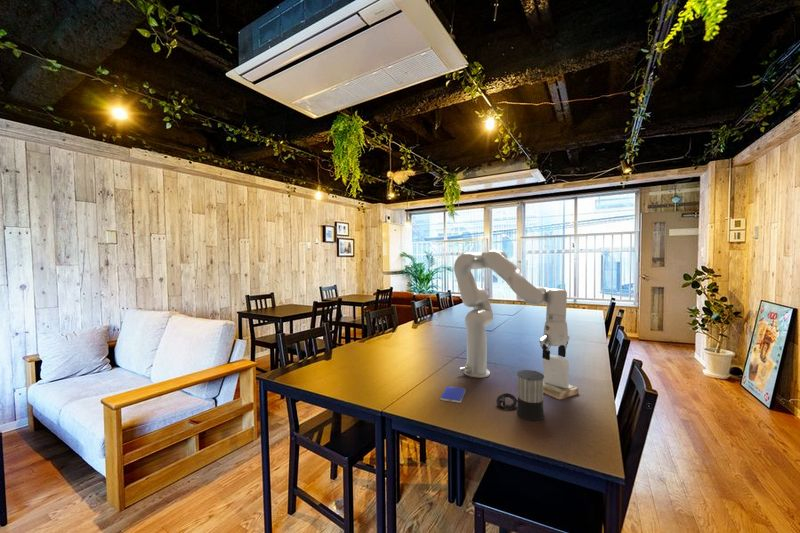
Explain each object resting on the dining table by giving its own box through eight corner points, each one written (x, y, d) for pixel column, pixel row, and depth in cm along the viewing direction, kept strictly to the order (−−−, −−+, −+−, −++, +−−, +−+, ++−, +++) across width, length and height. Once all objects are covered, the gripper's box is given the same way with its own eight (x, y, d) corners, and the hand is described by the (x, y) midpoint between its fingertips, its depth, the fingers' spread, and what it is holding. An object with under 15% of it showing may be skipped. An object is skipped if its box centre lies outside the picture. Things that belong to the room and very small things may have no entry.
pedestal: (558, 399, 127) (558, 392, 127) (534, 388, 138) (534, 382, 138) (578, 393, 133) (578, 387, 133) (553, 383, 143) (553, 377, 143)
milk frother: (547, 422, 110) (547, 379, 109) (499, 418, 113) (499, 376, 112) (537, 404, 124) (537, 366, 123) (495, 400, 127) (495, 363, 126)
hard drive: (446, 385, 139) (440, 397, 128) (465, 388, 137) (460, 400, 125) (446, 389, 139) (440, 401, 128) (465, 391, 137) (460, 404, 125)
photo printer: (541, 382, 138) (541, 353, 138) (546, 379, 141) (546, 352, 141) (565, 389, 130) (565, 359, 130) (570, 387, 133) (570, 357, 132)
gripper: (549, 321, 128) (547, 363, 128) (577, 318, 135) (575, 357, 136) (534, 317, 134) (532, 357, 135) (561, 314, 142) (559, 352, 143)
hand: (553, 357), depth 136 cm, fingers open, 9 cm apart
